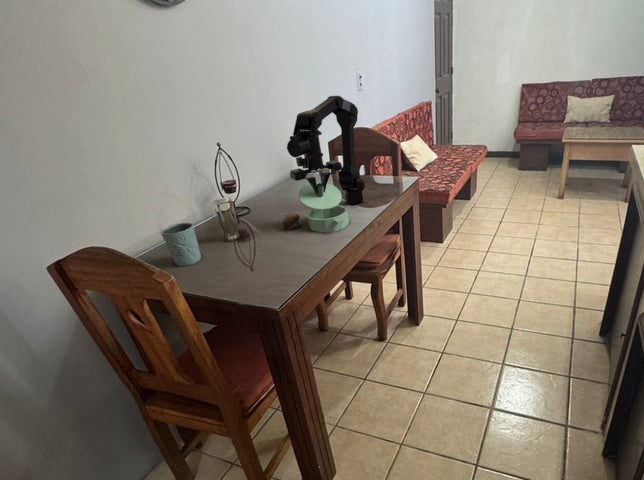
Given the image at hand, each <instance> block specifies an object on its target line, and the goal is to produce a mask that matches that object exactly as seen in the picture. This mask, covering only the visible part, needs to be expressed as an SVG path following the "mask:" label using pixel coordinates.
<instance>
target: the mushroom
mask: <svg viewBox="0 0 644 480" xmlns="http://www.w3.org/2000/svg"><path fill="white" fill-rule="evenodd" d="M300 217H301V216H300V215H299V213H289V214H287V215H286V216H284V219H283V220H282V226H283V228H284V230H285V231H290V230H292V229H297V228H298V227H300V226H301V225H302V222H300V221H299V219H300Z"/></svg>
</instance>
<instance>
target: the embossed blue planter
mask: <svg viewBox="0 0 644 480" xmlns="http://www.w3.org/2000/svg"><path fill="white" fill-rule="evenodd" d="M160 235H161V236H162V238H163V240H164V242H165V244H166V247H167V249H168V251H169V253H170V256H171V257H172V259H173V262H174V264H175V265H176V266H178V267H186V266H187V267H188V266H191V265H194V264H196V263H198V262H199V261H201V260H202V256H201V255H202V254H201V251H200V247H199V243H198V238H197V235H196V232H195V227H194V224H193V223H192V222H180V223H175V224H171V225H169V226H166V227H164V228H163V229H161V231H160Z"/></svg>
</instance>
